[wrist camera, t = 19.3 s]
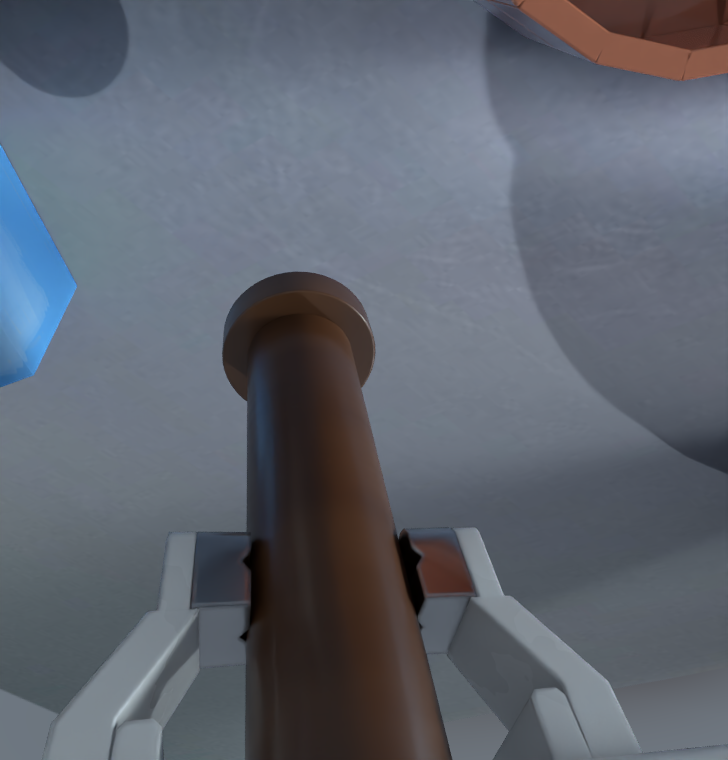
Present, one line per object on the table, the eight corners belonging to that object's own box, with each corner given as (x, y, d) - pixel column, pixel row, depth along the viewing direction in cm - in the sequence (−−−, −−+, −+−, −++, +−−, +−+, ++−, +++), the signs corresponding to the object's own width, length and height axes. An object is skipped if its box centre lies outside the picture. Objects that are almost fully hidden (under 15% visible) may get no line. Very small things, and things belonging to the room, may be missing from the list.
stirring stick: (192, 342, 18) (53, 1332, 5) (293, 240, 17) (439, 1248, 4) (300, 415, 20) (387, 1230, 8) (398, 331, 19) (706, 1157, 6)
